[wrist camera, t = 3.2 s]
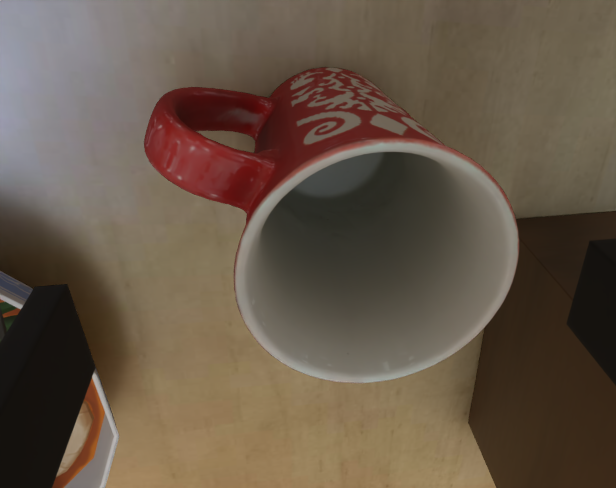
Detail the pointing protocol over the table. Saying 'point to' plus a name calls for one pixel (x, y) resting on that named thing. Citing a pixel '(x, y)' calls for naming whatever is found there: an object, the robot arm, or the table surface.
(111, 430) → the ramen bowl
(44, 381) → the robot arm
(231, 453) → the table surface
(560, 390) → the riser
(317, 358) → the mug
